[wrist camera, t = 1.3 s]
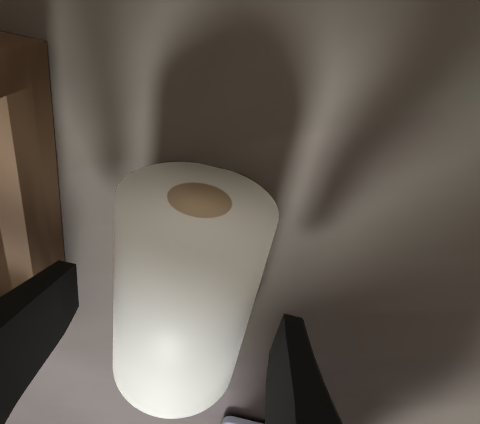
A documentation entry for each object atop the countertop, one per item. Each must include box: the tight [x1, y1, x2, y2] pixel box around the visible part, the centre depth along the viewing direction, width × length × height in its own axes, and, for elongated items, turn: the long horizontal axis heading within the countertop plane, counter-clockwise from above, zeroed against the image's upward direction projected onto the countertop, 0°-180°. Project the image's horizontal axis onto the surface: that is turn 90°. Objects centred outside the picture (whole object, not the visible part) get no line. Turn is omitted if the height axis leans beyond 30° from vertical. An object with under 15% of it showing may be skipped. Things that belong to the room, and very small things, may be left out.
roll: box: [113, 162, 279, 419], centre depth 14 cm, size 8×5×5 cm, turn 169°
